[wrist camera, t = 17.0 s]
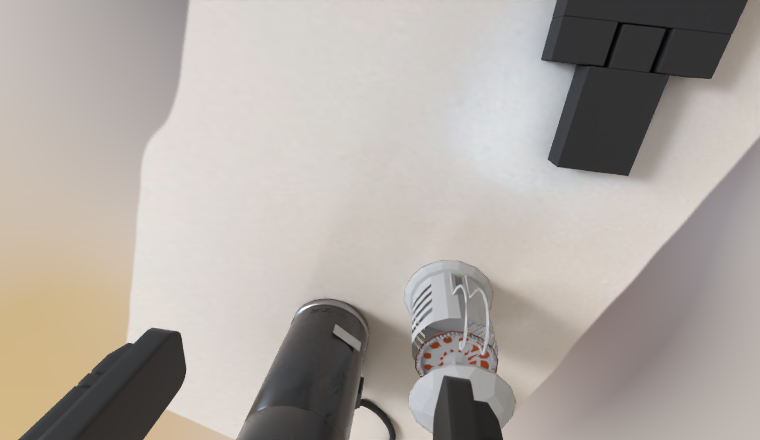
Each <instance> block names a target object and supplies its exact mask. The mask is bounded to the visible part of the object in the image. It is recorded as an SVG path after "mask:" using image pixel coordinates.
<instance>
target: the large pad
mask: <svg viewBox="0 0 760 440" xmlns="http://www.w3.org/2000/svg"><path fill="white" fill-rule="evenodd" d="M747 1H748V0H557V3H556V6H555V10H554V14H553V18H552V22H551V25H550V29H549V33H548V36H547V40H546V44H545V47H544V51H543V55H542V58H541V60H546V61H555V62H563V63H571V64H580V65H588V66H603V65H604V63H605V60H606V57H607V54H608V51H609V48H610V45H611V42H612V39H613V36H614V33H615V30H616V27H617V25H623V24H629V25H638V26H647V27H656V28H665V29H666V31H665V33H664V36H663V38H662V41H661V43H660V46H659V49H658V51H657V54H656V56H655V59H654V61H653V64H652V67H651V69H650V72H649V73H655V74H664V75H672V76H681V77H689V78H704V79H711V78H712V76H713V74H714V72H715V70H716V68H717V65H718V63H719V61H720V59H721V57H722V55H723V52H724V50H725V48H726V46H727V44H728V42H729V39H730V37H731V34H732V33H733V31H734V29H735V27H736V25H737V22H738V20H739V18H740V16H741V14H742V12H743V9H744V7H745V5H746V3H747Z"/></svg>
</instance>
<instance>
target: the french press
mask: <svg viewBox="0 0 760 440" xmlns="http://www.w3.org/2000/svg"><path fill="white" fill-rule="evenodd" d="M492 296H493V292H492V289H491V286H490V284H489V281H488V279H487V278H486V277H485V276H484V275H483V274H482V273H481V272H480V271H479V270H478V269H477V268H476V267H473V266H471V265H468V264H465V263H463V262H460V261H438V262H435V263H432V264H429V265H426V266H424V267H422V268H421V269H420V270H419V271H418V272H416V273H415V274H414V275H413V276H412V277H411V278H410V280H409V282H408V284H407V286H406V288H405V305H406V307H407V309H408V311H409V313H410V315H411V317H412V324H413V325H412V354H413V358H414V360H415V368H416V370H417V372H418V374H419V376H420V379H419V380H417V382H416V384H415V385H414V387H413V388H412V390H411V392H410V393H409V409H410V411H411V413H412V415H413V416H414V418H415V420H416V422H417V423H419V424H420V425H421V426H422V427H424V428H425V429H426V430H428V431H429V432H430V433H433V419H434V412H435V407H436V403H437V399H438V395H439V391H440V387H441V384H442V380H443V377H444V375H446V376H452V377H459V378H465V379H470V381H471V384H472V389H473V396H474V400H477V401H483V402H488V404H489V405H490V407H491V409H492V410H493V412H494V413H495V415H496V417H497V418H498V420H499V424H500V428H501V429H502V428H503V427H504V426H505V424H506V423H507V422H508V421H509V420H510V418H511V417H512V416H513V413H514V408H515V403H516V400H515V398H514V395H513V392H512V390H511V387H510V386H509V385H508V384H507V383H506V382H505V381H504V380H503V379H501V378H500V377H499V376H498V375H497V374H496V372H497V365H498V358H497V356H498V348H497V343H496V345H495V349H493V344H494V341H495V342H496V339H495V335H494V331H493V328H492V324H491V321H490V317H489V310H490V308H491V304H492ZM413 321H414V322H413ZM417 322H418V323H419V324H418V323H417ZM480 324H481V325H482V326H484V327H482V328H480V329H478V330H476V331H474V332H472V333H468V330H470V329H472V328H474V327H477V326H479V325H480ZM490 324H491V325H490ZM415 325H416V326H417V328H416V327H415ZM413 328H414V330H415V331H413ZM424 328H425V330H424ZM485 330H486V335H485V336H483V337H478V336H476V335H478V334H480V333H482V332H484V331H485ZM420 331H421V332H422V333H423V334H424V335H425V338H424V337H423V336H422V335H421V334H420V333H419V332H420ZM491 334H492V335H493V337H492V341H491V342H490V343H488V340H489V338H490V337H491ZM416 335H418V337H419V338H420V339H421V340H422V341H423V342H424V343H423V344H421V342H420V341H419V340H418V339H417V337H416ZM414 339H415V341H416V342H417V344H418V345H419V346H420V349H419V350H418V348H417V347H416V345H415V344H414Z"/></svg>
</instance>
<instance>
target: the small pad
mask: <svg viewBox="0 0 760 440" xmlns="http://www.w3.org/2000/svg"><path fill="white" fill-rule="evenodd" d="M665 31H666V29H665V28H656V27H647V26H638V25H629V24H623V25H617V27H616V30H615V33H614V36H613V39H612V42H611V45H610V48H609V51H608V54H607V57H606V60H605V63H604V65H603V66H596V67H594V66H576V69H575V73H574V76H573V79H572V82H571V86H570V89H569V92H568V95H567V99H566V102H565V105H564V108H563V112H562V115H561V118H560V121H559V125H558V128H557V131H556V134H555V138H554V141H553V144H552V147H551V151H550V154H549V157H548V160H549V161H551V162H552V163H553V164H554V165H556V166H557V167H563V168H571V169H579V170H586V171H594V172H602V173H609V174H617V175H625V176H628V175H629V173H630V170H631V168H632V166H633V163H634V161H635V158H636V156H637V153H638V151H639V149H640V146H641V144H642V141H643V139H644V136H645V134H646V132H647V129H648V127H649V124H650V122H651V119H652V117H653V114H654V112H655V110H656V107H657V105H658V102H659V100H660V97H661V95H662V93H663V90H664V88H665V85H666V83H667V80H668V78H669V75H663V74H654V73H649V72H650V69H651V67H652V64H653V61H654V59H655V56H656V54H657V51H658V49H659V46H660V43H661V41H662V38H663V36H664V33H665Z"/></svg>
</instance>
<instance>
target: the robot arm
mask: <svg viewBox="0 0 760 440" xmlns="http://www.w3.org/2000/svg"><path fill="white" fill-rule="evenodd" d="M368 339H369V329H368V325H367V323H366V321H365V319H364V318H363V316H362V315H361V314H360V313H359V312H358V311H357V310H356V309H354V308H353V307H351V306H350V305H348V304H346V303H343V302H341V301H337V300H331V299H320V300H314V301H311V302H309V303H307V304H305V305H304V306H302V307H301V308H300V309H299V310H298V311H297V313H296V314H295V316H294V318H293V320H292V323H291V327H290V329H289V331H288V333H287V335H286V337H285V339H284V341H283V343H282V345H281V347H280V349H279V351H278V353H277V355H276V357H275V359H274V362H273V364H272V366H271V368H270V370H269V372H268V374H267V376H266V378H265V380H264V382H263V384H262V387H261V389H260V391H259V393H258V395H257V397H256V399H255V401H254V403H253V405H252V407H251V409H250V412H249V414H248V416H247V418H246V420H245V422H244V424H243V427H242V429H241V431H240V433H239V435H238V437H237V439H236V440H349V437H350V432H351V426H352V421H353V415H354V410H355V409H357V408H360V406H364V407H366V408H368V409H370V410H372V411H373V412H374V413H376V414H377V415H378V416H379V417H380V418H381V419H382V421H383V422H384V423H385V425H386V426H387V428H388V431H389V434H390V440H395V439H396V435H395V430H394V428H393V425H392V423H391V421H390V420H389V418H388V417H387V416H386V414H385V413H384V412H383V411H382V410H380V409H379V408H378V407H377V406H375V405H374V404H372V403H371V402H369V401H367V400H364V399H361V396H362V389H363V381H364V378H363V377H361V372H362V366H363V362H364V356H365V351H366V348H367V345H368ZM185 375H186V364H185V357H184V351H183V344H182V338H181V334H180V333H179V332H177V331H171V330H164V329H158V328H151V329H149V330H148V331H146V332H145V333H144V334H143V335H142V336H141V337H140V338H139V339H138V340H137V341H136V342H135V343H134V344H132V343H127V344H126V345H124V346H122V347H121V348H119V349H117V350H115V351H114V352H112V353H110V354H109V355H107V356H106V357H105V358H104V359H103V360H102V361H101V362H100V363H99V364H98V365H97V366H96V367H95V368H94V369H93V370H92V372H91V373H89V374H87V375H86V376H85V377H84V378H83V379H82V380H81V381H80V382H79V384H78V386H77V387H76V386H75V387H74V388H73V389H72V390H71V391H70V392H68V393H67V394H66V395H65V396H64V397H63V398H62V399H61V400H60V401H59V402H58V403H57V404H56V405H55V406H54V407H53V408H51V409H50V411H48V412H47V413H46V414H45V415H44V416H43V417H42V418H41V419H40V420H39V421H38V422H37V423H36V424H35V425H34V426H33V427H31V428H30V429H29V430H28V431H27V432H26V433H25V434H24V435H23V436H22V437H21V438H20V439H19V440H143V439H144V438H145V436H146V435H147V434H148V432H149V431H150V429H151V428H152V427H153V425H154V424H155V422H156V421H157V420H158V418H159V417H160V415H161V414H162V413H163V412H164V410H165V409H166V407H167V406H168V405H169V403H170V402H171V401H172V399H173V398H174V396H175V395H176V394H177V392H178V391H179V389H180V388H181V386H182V384H183V381H184V378H185ZM433 440H503V437H502V433H501V428H500V424H499V420H498V418H497V417H496V415H495V413H494V412H493V410H492V409H491V407H490V405H489V404H488V402H483V401H477V400H474V396H473V389H472V384H471V381H470V379H465V378H459V377H452V376H446V375H444V377H443V380H442V384H441V387H440V391H439V395H438V399H437V403H436V407H435V412H434V419H433Z"/></svg>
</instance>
